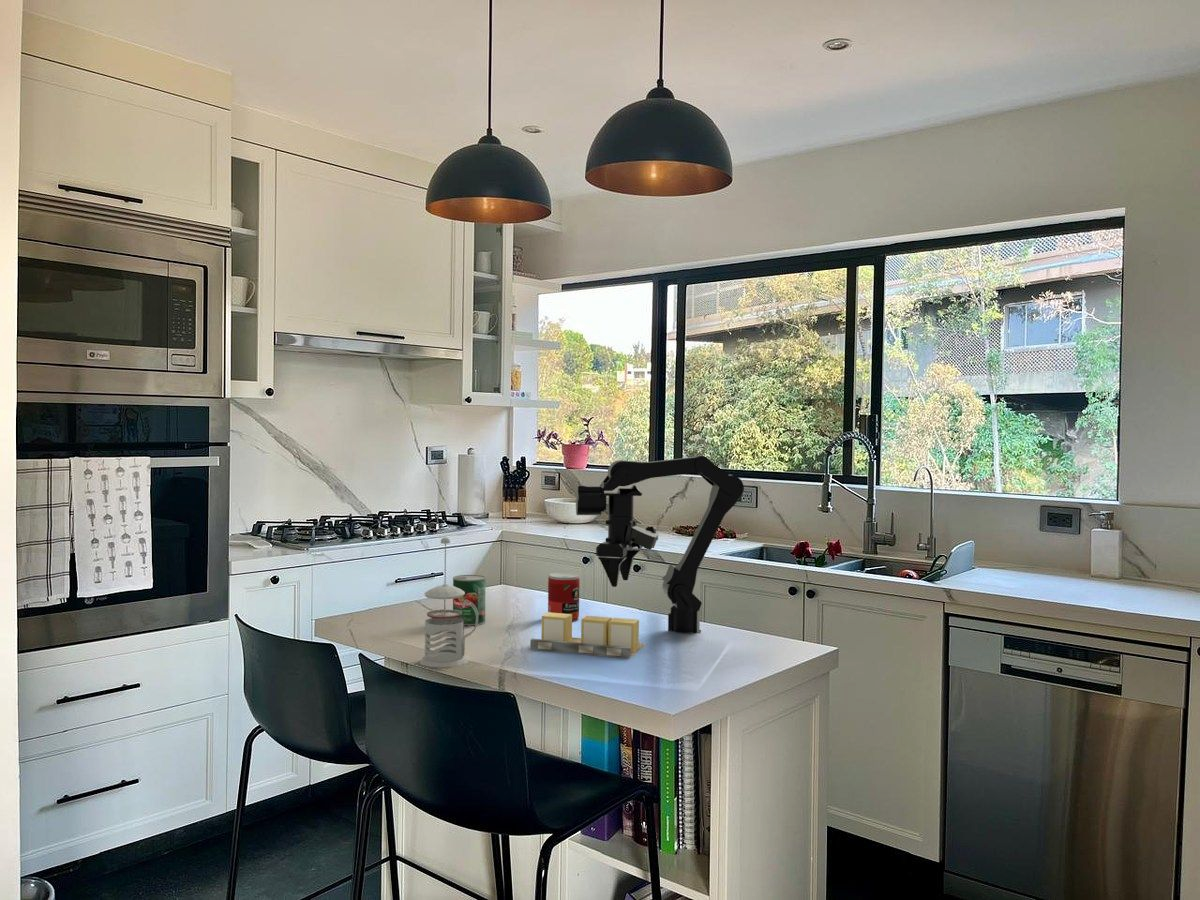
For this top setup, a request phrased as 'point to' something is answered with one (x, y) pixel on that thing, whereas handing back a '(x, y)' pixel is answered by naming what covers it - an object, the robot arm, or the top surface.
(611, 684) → the top surface
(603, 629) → the tea box
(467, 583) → the canned tomato
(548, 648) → the shelf board
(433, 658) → the french press
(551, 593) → the canned food
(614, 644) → the tea box
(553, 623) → the tea box turned
